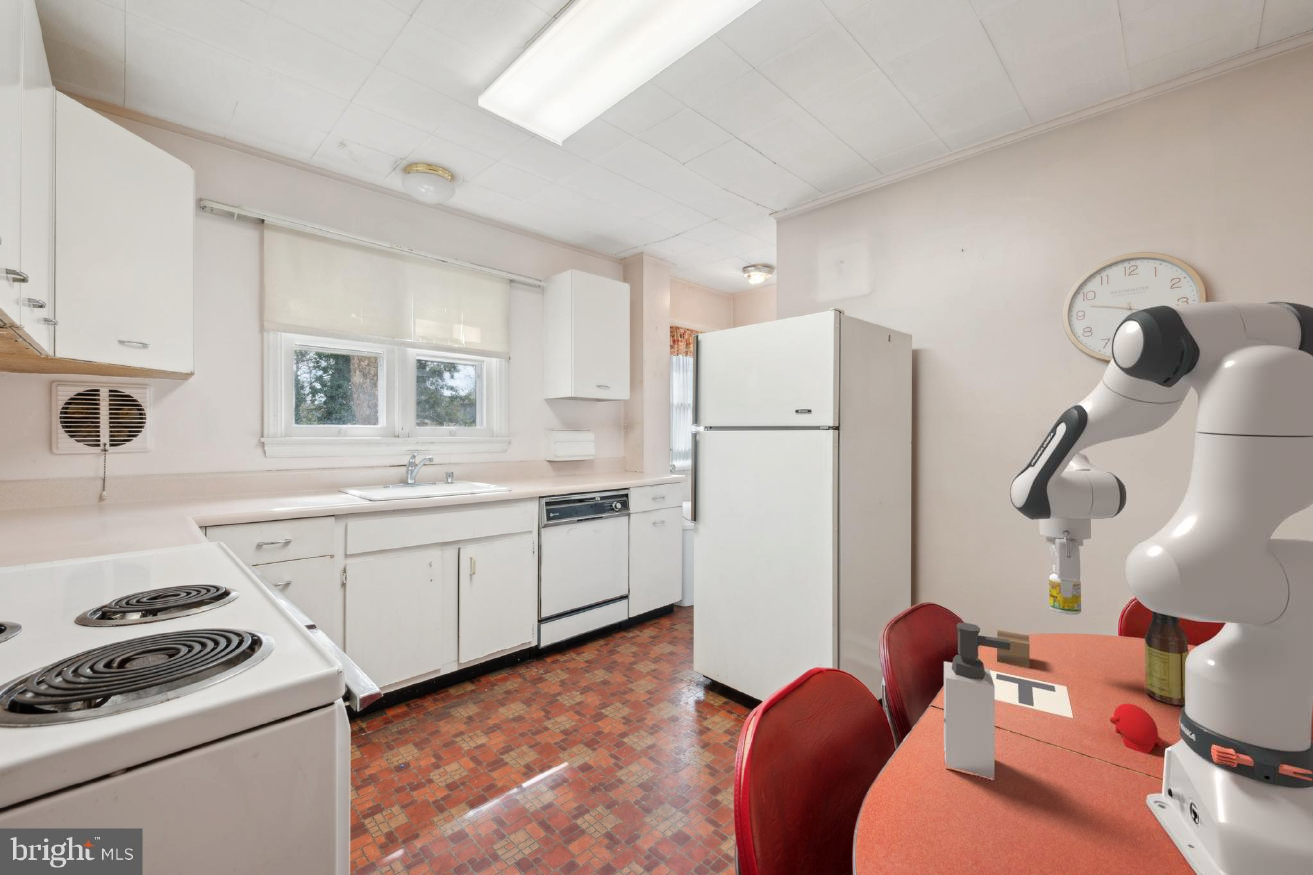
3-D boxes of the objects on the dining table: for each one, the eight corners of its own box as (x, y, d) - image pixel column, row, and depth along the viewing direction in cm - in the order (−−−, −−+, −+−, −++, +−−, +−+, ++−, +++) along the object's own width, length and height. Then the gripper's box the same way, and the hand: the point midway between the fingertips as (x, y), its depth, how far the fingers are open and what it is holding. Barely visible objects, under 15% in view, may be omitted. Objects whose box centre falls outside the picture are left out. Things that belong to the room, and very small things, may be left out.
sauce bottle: (1170, 691, 106) (1171, 594, 106) (1199, 708, 100) (1200, 604, 99) (1135, 690, 107) (1136, 593, 106) (1162, 706, 100) (1162, 603, 100)
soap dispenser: (1012, 785, 79) (1013, 639, 78) (945, 768, 83) (945, 630, 82) (1006, 760, 85) (1006, 625, 84) (943, 746, 88) (943, 616, 88)
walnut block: (1029, 671, 116) (1029, 644, 115) (996, 664, 119) (997, 638, 119) (1028, 661, 120) (1028, 635, 120) (997, 655, 124) (997, 629, 124)
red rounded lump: (1104, 707, 94) (1100, 700, 91) (1147, 705, 91) (1144, 698, 88) (1125, 759, 90) (1121, 754, 86) (1170, 759, 86) (1169, 753, 83)
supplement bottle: (1085, 616, 109) (1085, 570, 109) (1054, 613, 111) (1054, 568, 111) (1075, 608, 114) (1074, 564, 114) (1045, 606, 116) (1045, 562, 116)
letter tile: (1073, 721, 96) (1073, 718, 96) (982, 699, 103) (982, 696, 103) (1066, 689, 107) (1066, 686, 107) (985, 672, 115) (985, 669, 115)
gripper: (1089, 536, 102) (1090, 608, 102) (1078, 523, 119) (1078, 584, 119) (1049, 533, 106) (1049, 602, 106) (1043, 520, 123) (1044, 580, 122)
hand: (1064, 592), depth 112 cm, fingers closed on supplement bottle, 5 cm apart
